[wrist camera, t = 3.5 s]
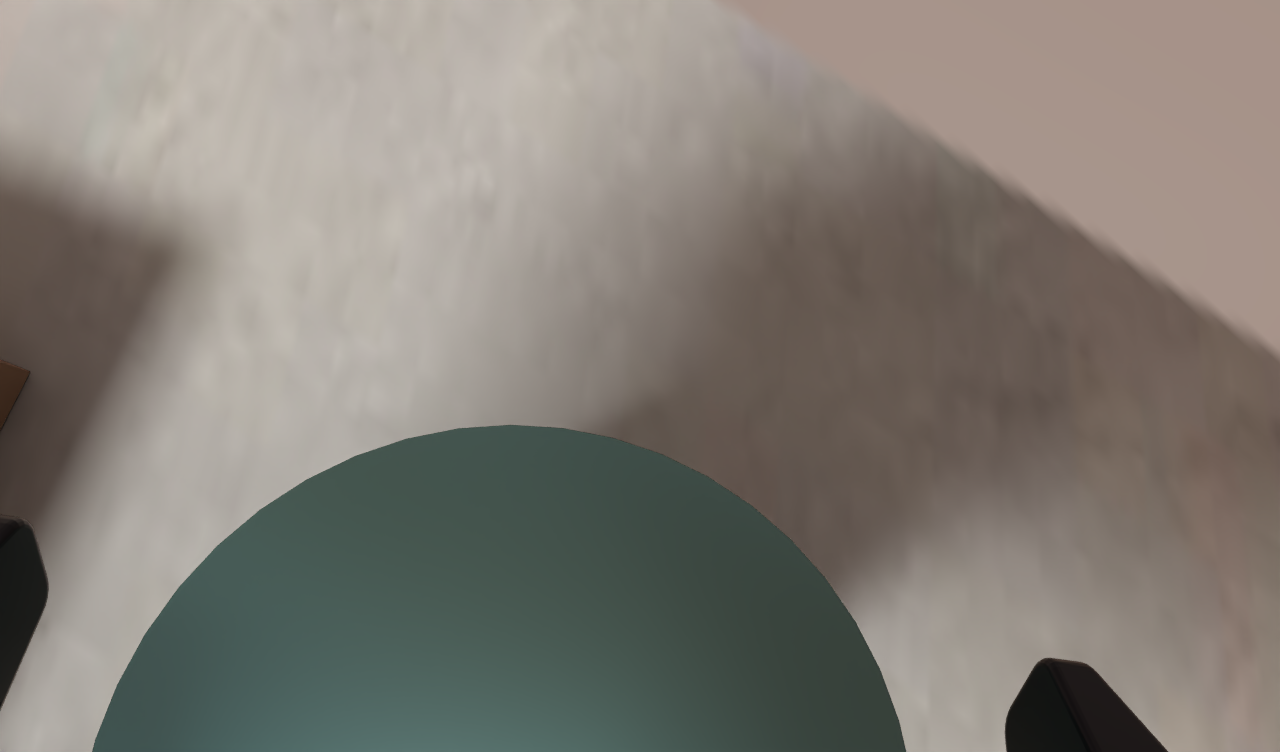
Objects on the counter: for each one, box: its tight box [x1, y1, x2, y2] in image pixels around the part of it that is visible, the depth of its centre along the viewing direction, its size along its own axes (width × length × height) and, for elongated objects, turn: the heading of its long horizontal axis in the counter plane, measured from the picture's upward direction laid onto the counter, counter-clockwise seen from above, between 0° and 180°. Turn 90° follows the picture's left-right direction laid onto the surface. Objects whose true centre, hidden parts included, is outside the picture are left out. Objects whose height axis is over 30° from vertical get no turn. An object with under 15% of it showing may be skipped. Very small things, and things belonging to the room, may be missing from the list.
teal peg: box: [92, 425, 906, 752], centre depth 11 cm, size 5×5×10 cm
